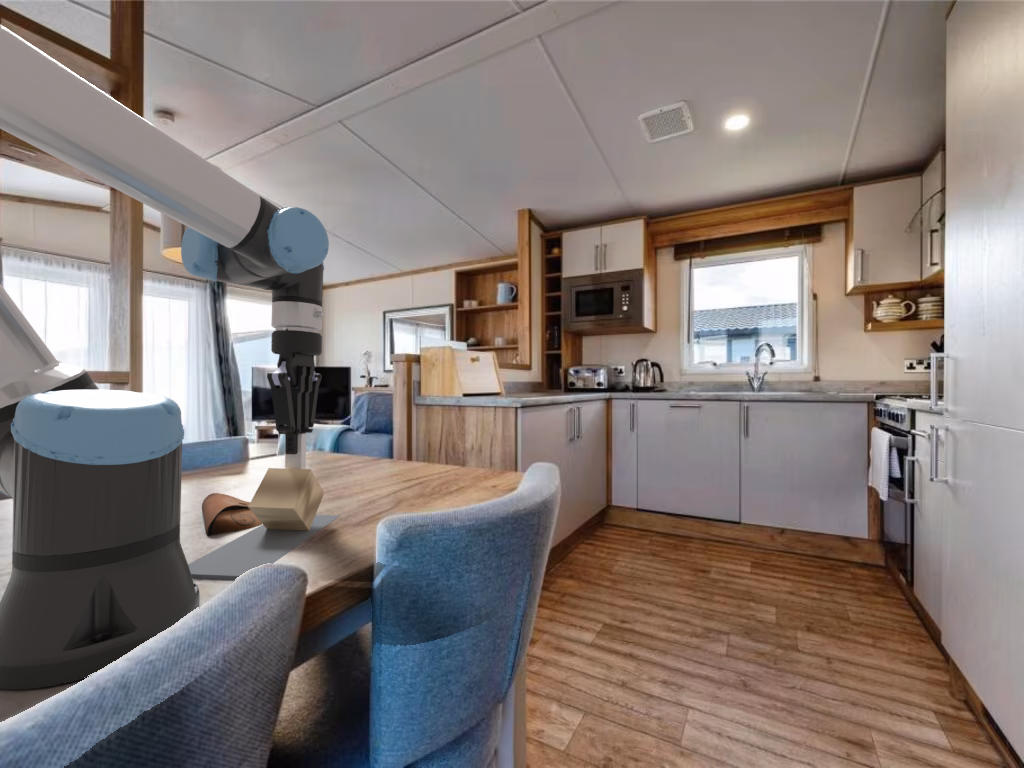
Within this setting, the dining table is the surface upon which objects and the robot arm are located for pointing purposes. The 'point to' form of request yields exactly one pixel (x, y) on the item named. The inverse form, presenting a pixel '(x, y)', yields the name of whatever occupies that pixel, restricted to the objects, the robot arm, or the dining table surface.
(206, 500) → the sunglasses case
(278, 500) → the maple cube
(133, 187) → the robot arm
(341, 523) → the dining table surface
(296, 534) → the mat
